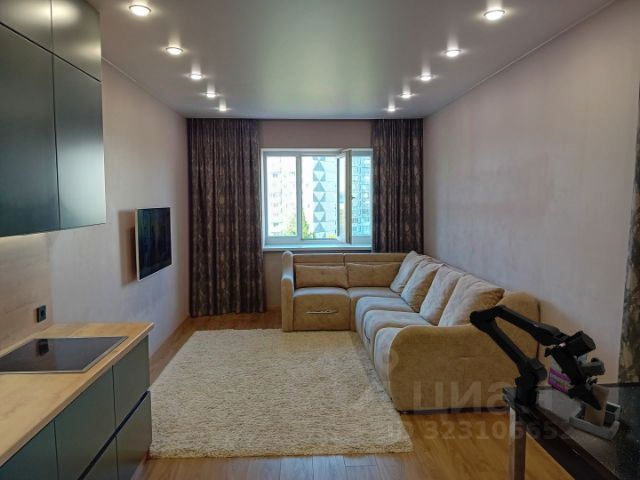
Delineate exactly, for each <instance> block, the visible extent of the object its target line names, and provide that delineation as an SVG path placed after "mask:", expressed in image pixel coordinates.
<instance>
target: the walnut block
mask: <svg viewBox="0 0 640 480" xmlns="http://www.w3.org/2000/svg"><path fill="white" fill-rule="evenodd" d="M592 386H593V394H594V396H595V398H596V399H597V401H598V403H599V405H600V406H601V408H602V409H601V410H599V411H598V410H597V409H595V408H593V407H592V406H590V405H589V404H587V405H586V411H585V416H584V417H583V419H584V420H583V421H586V422H589V423H591V424H594V425H597V426H599V427H602V428H604V423H603V422H604V417H605V411H606V405H607V402H608V397H609V393H610V388H609V387H606V386H603V385H600V384H598V383H597V384H594V383H593V384H592V385H591V386H590V387H592Z"/></svg>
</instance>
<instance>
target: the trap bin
mask: <svg viewBox="0 0 640 480" xmlns="http://www.w3.org/2000/svg"><path fill="white" fill-rule="evenodd" d="M586 405H587V403H585V402H584V401H582V400H581V402H580V407H579V408H582V412H581V416H584V417H585V411H586ZM620 413H621V406H620V407H617V406H614V405H611V404H608V403H607V405H606V411H605V417H604V422H603V424H606V425H608V426H610V427H611V426H612V425H613V423H614V422H615V421H618V422H619V419H620V415H621V414H620Z"/></svg>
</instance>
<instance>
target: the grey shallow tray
mask: <svg viewBox="0 0 640 480" xmlns="http://www.w3.org/2000/svg"><path fill="white" fill-rule="evenodd" d="M581 412H582V408H580V407H578V406H577V408H576V409H575V410H574V411H573V412H572V413H571V414H570V415H569V416H568V417H569V418H568V422H567V424H568V425H570V426H572V427H575V428H578V429H580V430H583V431H584V432H585V431H586V432H588V433H591V434H594V435H596V436H599V437H601V438H603V439H607V440H609V441H612V440H613V438H614V436H615V435H616V434H617V432H618V431H619V429H620V428H619V427H620V421H619V420H618V421H615V422H614V423H613V425H612V426H611V425H610V427H609V429H607V428H605V427H599V426H597V425H594V424H591V423H589V422H586V421H584V420H583V419H581V418H580V417H581V416H582V415H581Z"/></svg>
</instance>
